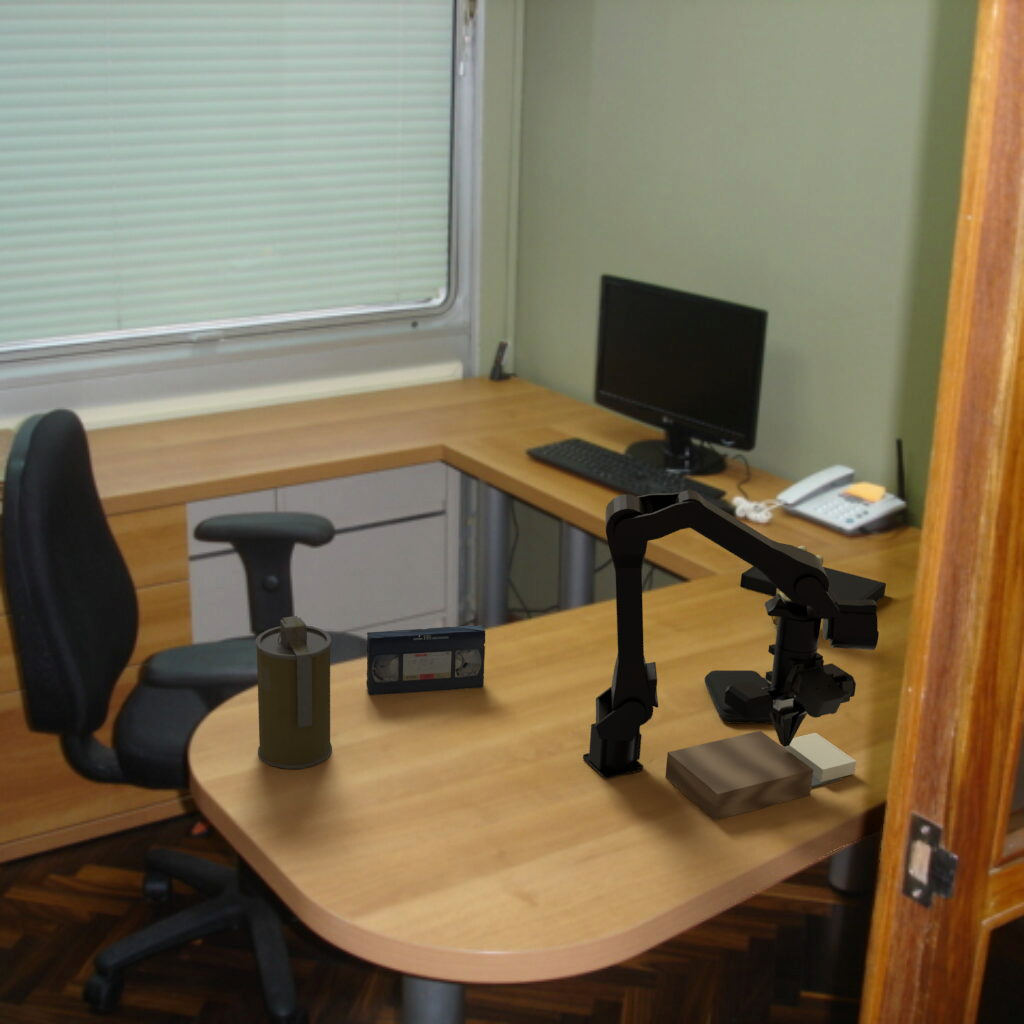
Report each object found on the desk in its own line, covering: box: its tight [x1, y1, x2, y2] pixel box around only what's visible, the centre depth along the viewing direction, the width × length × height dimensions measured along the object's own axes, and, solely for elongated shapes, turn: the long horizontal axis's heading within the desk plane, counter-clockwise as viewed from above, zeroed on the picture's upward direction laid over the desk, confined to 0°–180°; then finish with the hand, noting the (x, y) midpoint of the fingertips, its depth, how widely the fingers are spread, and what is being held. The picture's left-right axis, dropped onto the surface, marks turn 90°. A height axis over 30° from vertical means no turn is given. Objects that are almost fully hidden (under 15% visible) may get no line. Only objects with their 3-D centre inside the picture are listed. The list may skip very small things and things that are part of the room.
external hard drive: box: [739, 566, 887, 604], centre depth 260 cm, size 14×23×3 cm, turn 55°
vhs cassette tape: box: [365, 624, 486, 696], centre depth 214 cm, size 18×3×10 cm, turn 102°
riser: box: [665, 730, 813, 821], centre depth 191 cm, size 16×12×4 cm
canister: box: [254, 615, 333, 770], centre depth 192 cm, size 11×10×20 cm
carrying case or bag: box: [704, 669, 773, 724], centre depth 215 cm, size 11×3×15 cm
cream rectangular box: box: [781, 732, 857, 782], centre depth 198 cm, size 6×9×2 cm, turn 27°
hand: (784, 744), depth 193 cm, fingers closed
